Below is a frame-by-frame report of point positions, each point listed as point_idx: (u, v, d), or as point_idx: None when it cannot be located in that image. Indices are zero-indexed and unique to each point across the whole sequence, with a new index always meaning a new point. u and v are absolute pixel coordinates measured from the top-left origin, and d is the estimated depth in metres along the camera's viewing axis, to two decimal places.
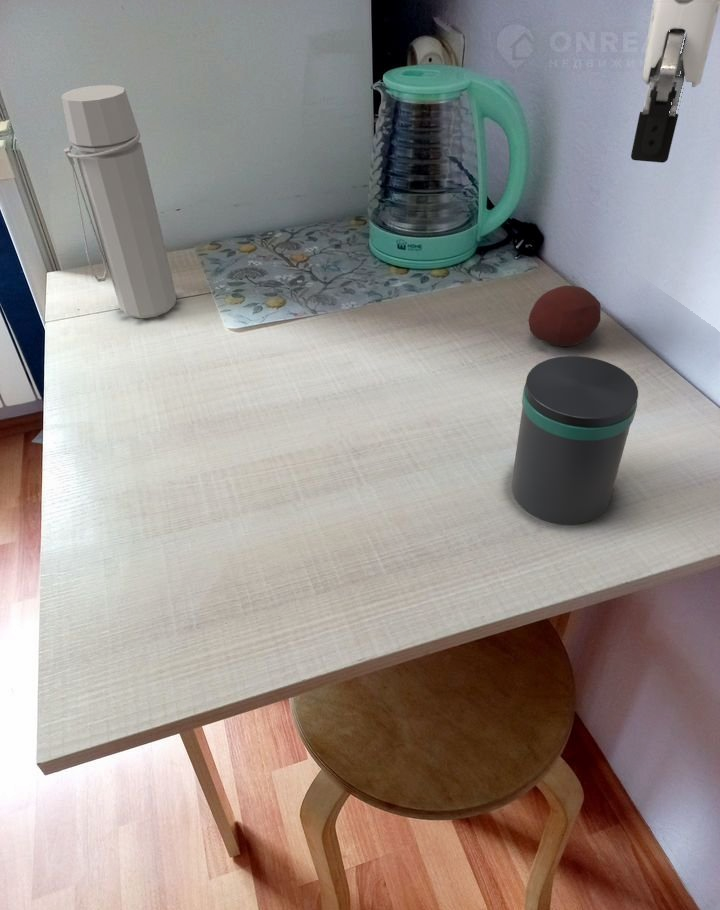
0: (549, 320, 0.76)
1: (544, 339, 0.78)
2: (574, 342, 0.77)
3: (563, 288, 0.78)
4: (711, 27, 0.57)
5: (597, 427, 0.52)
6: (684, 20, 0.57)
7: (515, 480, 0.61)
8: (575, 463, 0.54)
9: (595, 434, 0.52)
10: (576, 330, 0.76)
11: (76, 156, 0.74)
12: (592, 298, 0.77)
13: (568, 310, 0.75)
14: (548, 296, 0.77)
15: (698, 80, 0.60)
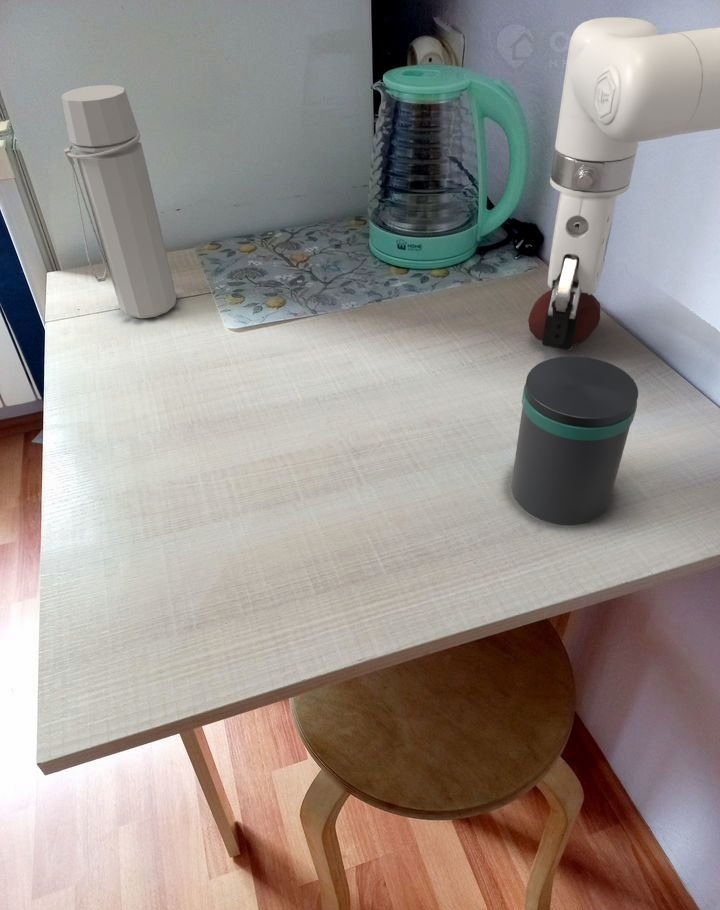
0: None
1: None
2: (574, 342, 0.77)
3: None
4: (599, 255, 0.69)
5: (597, 427, 0.52)
6: (576, 249, 0.69)
7: (515, 480, 0.61)
8: (575, 463, 0.54)
9: (595, 434, 0.52)
10: (576, 330, 0.76)
11: (76, 156, 0.74)
12: (592, 298, 0.77)
13: None
14: (548, 296, 0.77)
15: (592, 291, 0.71)
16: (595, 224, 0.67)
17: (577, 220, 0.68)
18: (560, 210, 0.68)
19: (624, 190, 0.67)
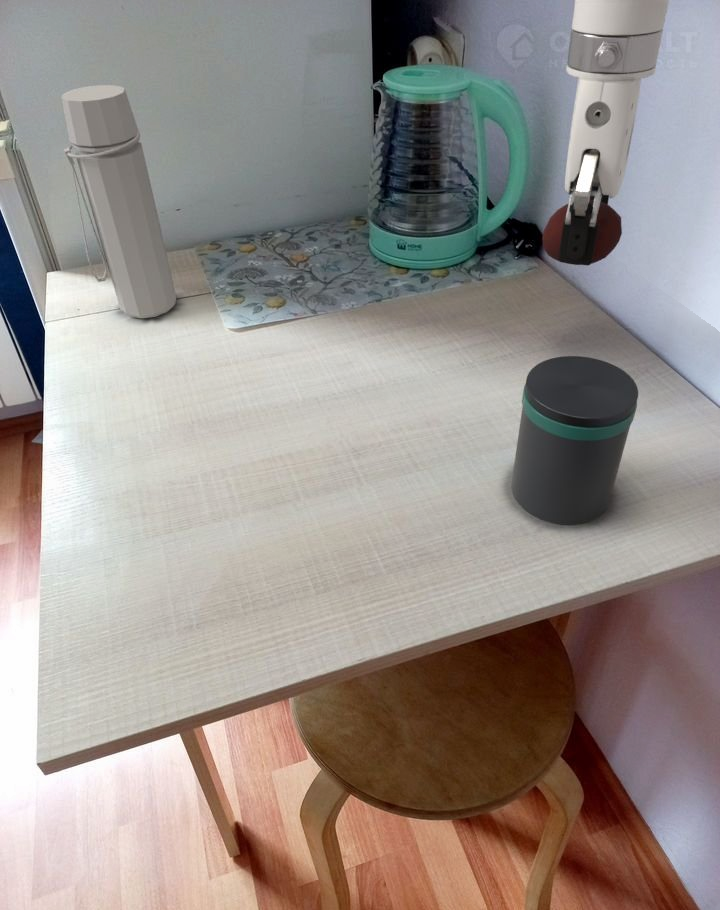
0: None
1: None
2: (593, 259, 0.70)
3: None
4: (622, 148, 0.62)
5: (597, 427, 0.52)
6: (597, 142, 0.62)
7: (515, 480, 0.61)
8: (575, 463, 0.54)
9: (595, 434, 0.52)
10: (596, 243, 0.69)
11: (76, 156, 0.74)
12: (612, 210, 0.70)
13: None
14: (564, 209, 0.70)
15: (614, 193, 0.64)
16: (618, 110, 0.60)
17: (597, 108, 0.61)
18: (578, 97, 0.61)
19: (650, 73, 0.60)
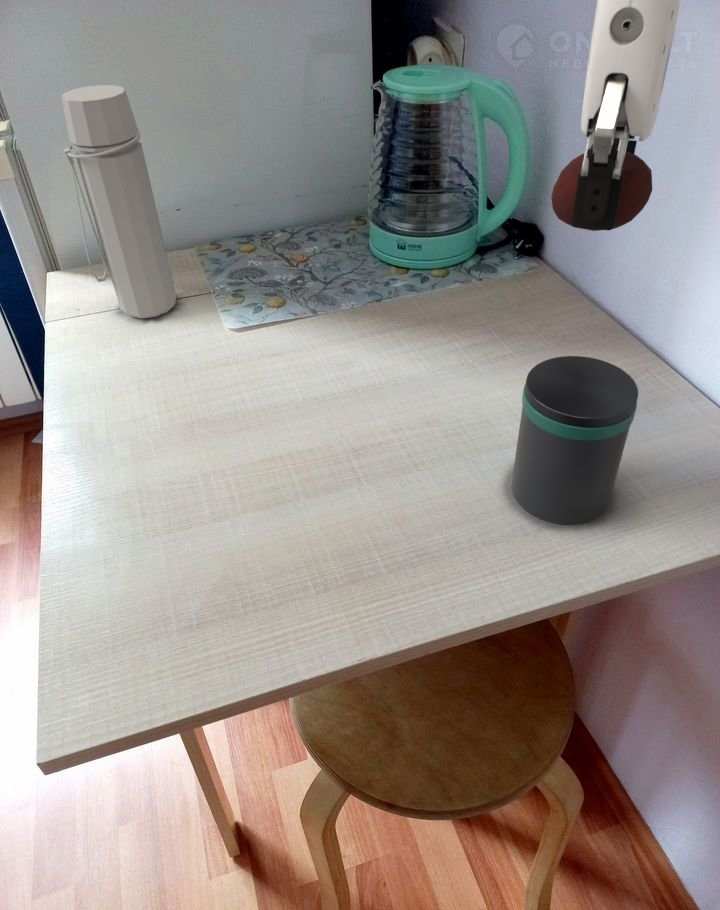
0: None
1: None
2: (616, 222, 0.55)
3: None
4: (658, 72, 0.47)
5: (597, 427, 0.52)
6: (625, 63, 0.47)
7: (515, 480, 0.61)
8: (575, 463, 0.54)
9: (595, 434, 0.52)
10: (620, 201, 0.54)
11: (76, 156, 0.74)
12: (641, 160, 0.55)
13: None
14: (580, 159, 0.56)
15: (645, 133, 0.49)
16: (654, 19, 0.45)
17: (626, 18, 0.46)
18: (601, 3, 0.46)
19: None
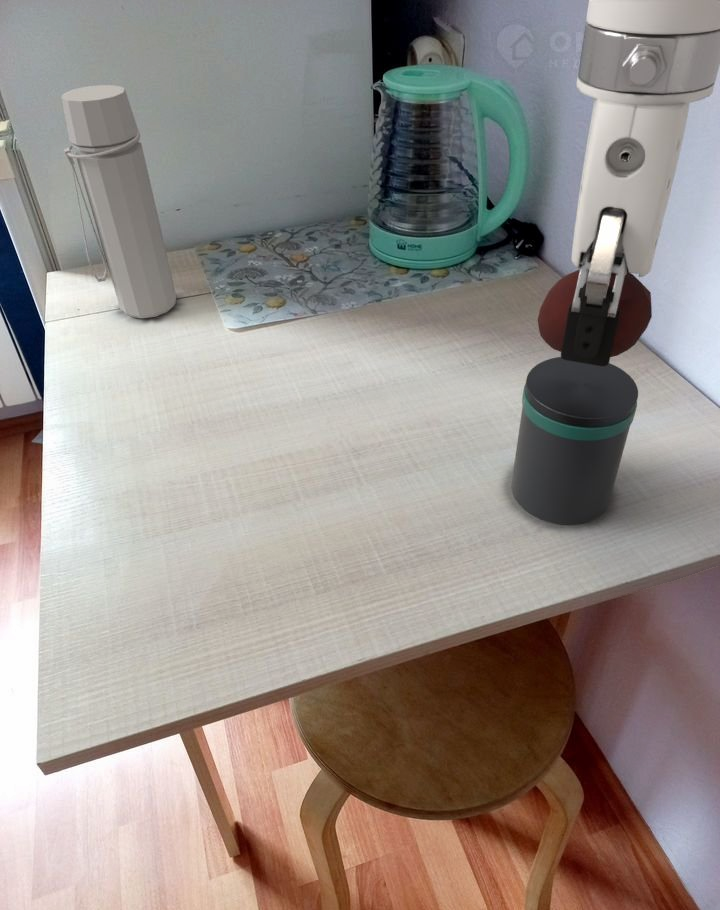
0: None
1: None
2: (611, 354, 0.49)
3: None
4: (661, 207, 0.40)
5: (597, 427, 0.52)
6: (623, 198, 0.40)
7: (515, 480, 0.61)
8: (575, 463, 0.54)
9: (595, 434, 0.52)
10: None
11: (76, 156, 0.74)
12: (639, 284, 0.49)
13: None
14: (570, 281, 0.49)
15: (645, 271, 0.43)
16: (657, 152, 0.39)
17: (624, 147, 0.40)
18: (596, 130, 0.40)
19: (707, 94, 0.39)
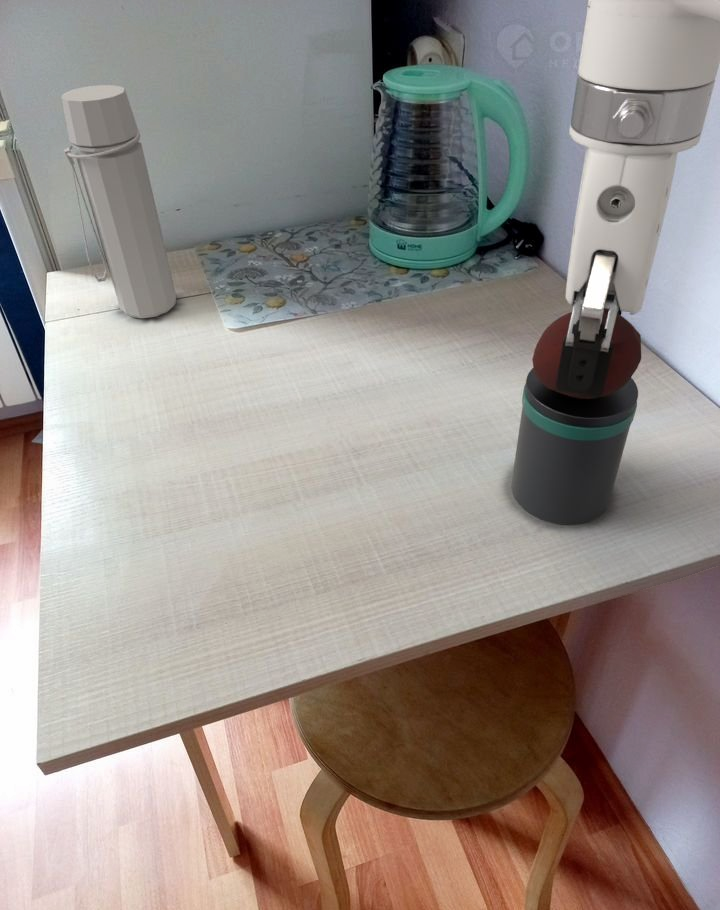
0: None
1: (556, 389, 0.52)
2: (602, 394, 0.51)
3: None
4: (651, 251, 0.42)
5: (597, 427, 0.52)
6: (614, 241, 0.42)
7: (515, 480, 0.61)
8: (575, 463, 0.54)
9: (595, 434, 0.52)
10: (606, 377, 0.50)
11: (76, 156, 0.74)
12: (629, 327, 0.51)
13: None
14: (563, 324, 0.51)
15: (637, 310, 0.44)
16: (646, 199, 0.40)
17: (615, 193, 0.41)
18: (587, 177, 0.41)
19: (694, 143, 0.40)
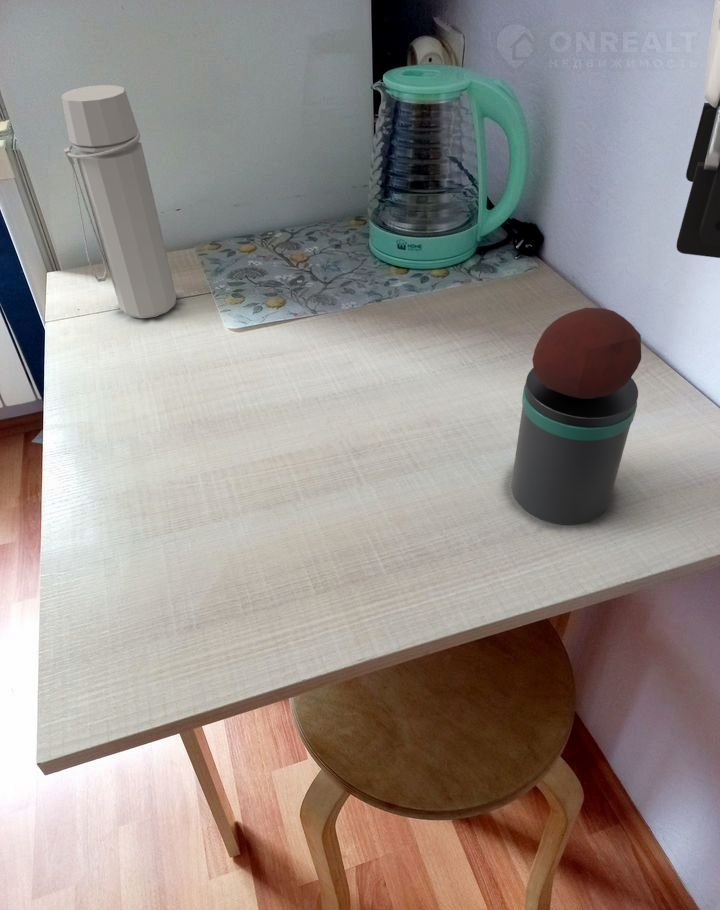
0: (564, 361, 0.50)
1: (556, 389, 0.52)
2: (602, 394, 0.51)
3: (585, 312, 0.51)
4: None
5: (597, 427, 0.52)
6: None
7: (515, 480, 0.61)
8: (575, 463, 0.54)
9: (595, 434, 0.52)
10: (606, 377, 0.50)
11: (76, 156, 0.74)
12: (629, 327, 0.51)
13: (594, 346, 0.49)
14: (563, 324, 0.51)
15: None
16: None
17: None
18: None
19: None
